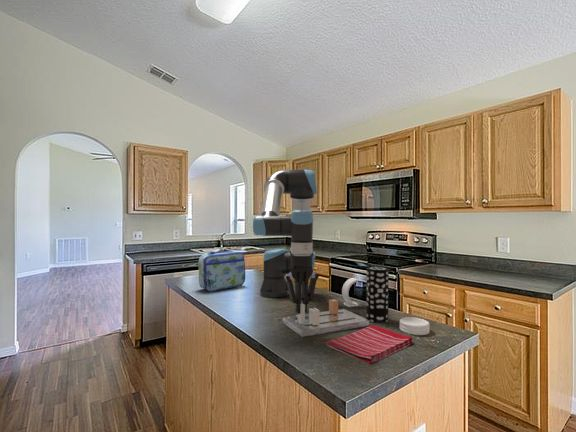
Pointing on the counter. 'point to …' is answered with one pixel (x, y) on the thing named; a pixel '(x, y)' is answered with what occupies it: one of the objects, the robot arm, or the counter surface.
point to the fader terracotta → (333, 306)
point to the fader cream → (314, 316)
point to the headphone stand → (346, 292)
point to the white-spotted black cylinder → (377, 294)
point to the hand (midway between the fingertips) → (301, 322)
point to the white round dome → (414, 326)
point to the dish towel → (370, 343)
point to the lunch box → (221, 270)
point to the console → (326, 323)
